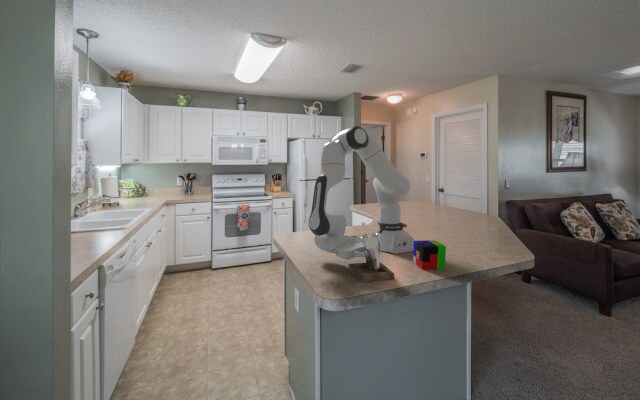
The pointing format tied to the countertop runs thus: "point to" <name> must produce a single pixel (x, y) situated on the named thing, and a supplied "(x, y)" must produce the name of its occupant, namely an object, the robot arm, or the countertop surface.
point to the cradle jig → (363, 276)
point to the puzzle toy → (429, 254)
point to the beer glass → (371, 252)
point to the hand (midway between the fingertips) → (372, 252)
